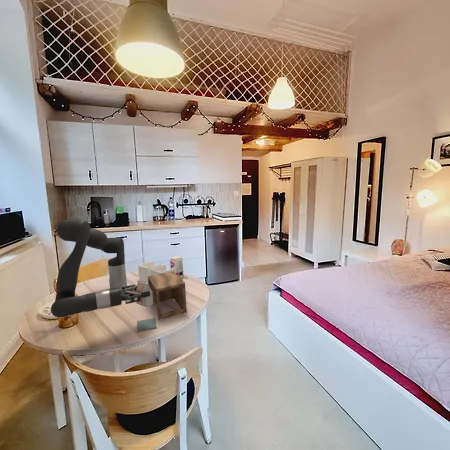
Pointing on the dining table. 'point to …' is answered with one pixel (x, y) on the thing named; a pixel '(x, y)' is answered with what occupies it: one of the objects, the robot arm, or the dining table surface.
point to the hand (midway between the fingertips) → (148, 290)
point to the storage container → (151, 270)
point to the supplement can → (177, 265)
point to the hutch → (168, 292)
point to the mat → (146, 324)
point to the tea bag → (144, 288)
